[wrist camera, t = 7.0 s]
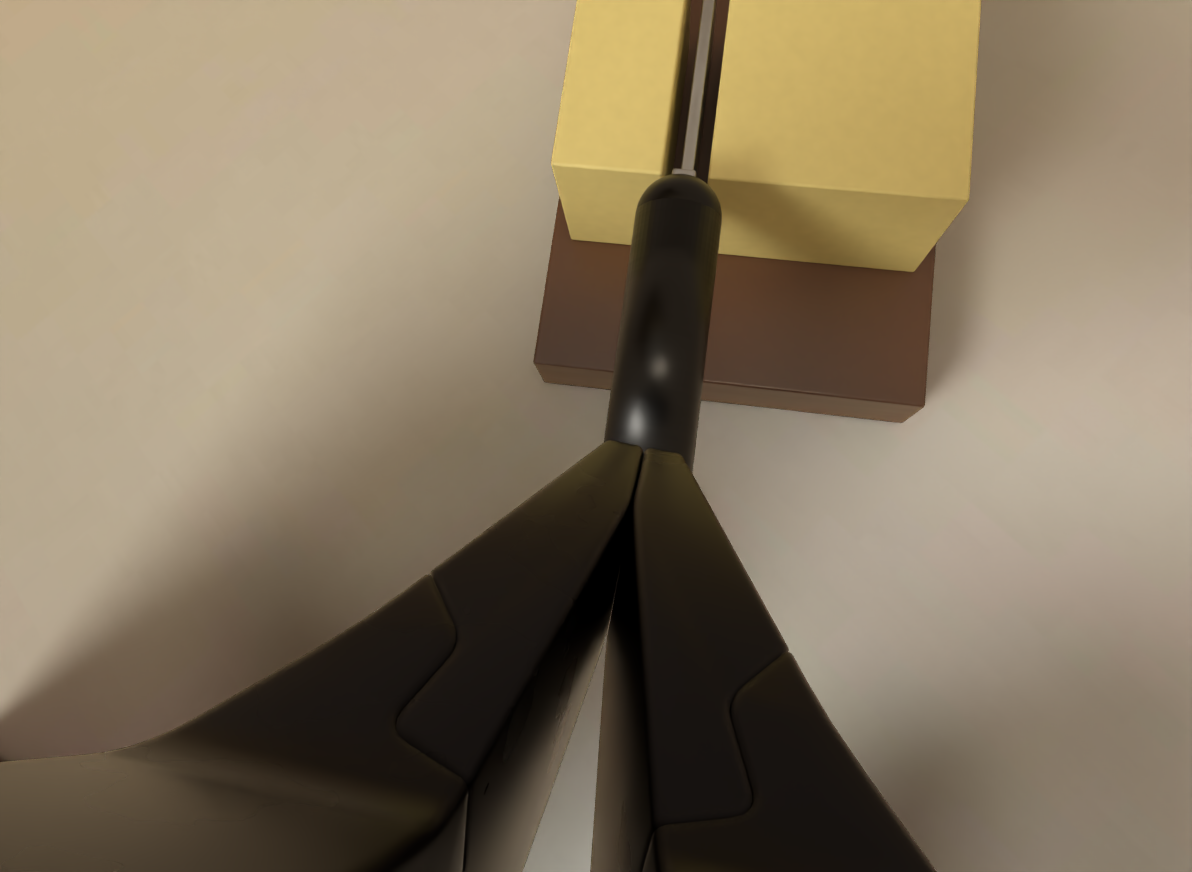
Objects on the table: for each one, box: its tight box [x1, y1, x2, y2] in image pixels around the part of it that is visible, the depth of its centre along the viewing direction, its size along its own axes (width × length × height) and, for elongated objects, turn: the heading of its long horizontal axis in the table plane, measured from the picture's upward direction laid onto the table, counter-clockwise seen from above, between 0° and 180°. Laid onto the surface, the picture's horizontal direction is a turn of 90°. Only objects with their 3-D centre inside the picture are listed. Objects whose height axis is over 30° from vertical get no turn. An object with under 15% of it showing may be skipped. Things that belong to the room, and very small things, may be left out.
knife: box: [604, 0, 722, 472], centre depth 19 cm, size 14×2×5 cm, turn 172°
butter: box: [551, 0, 981, 272], centre depth 20 cm, size 6×9×4 cm, turn 82°
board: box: [533, 0, 936, 423], centre depth 23 cm, size 13×10×2 cm
